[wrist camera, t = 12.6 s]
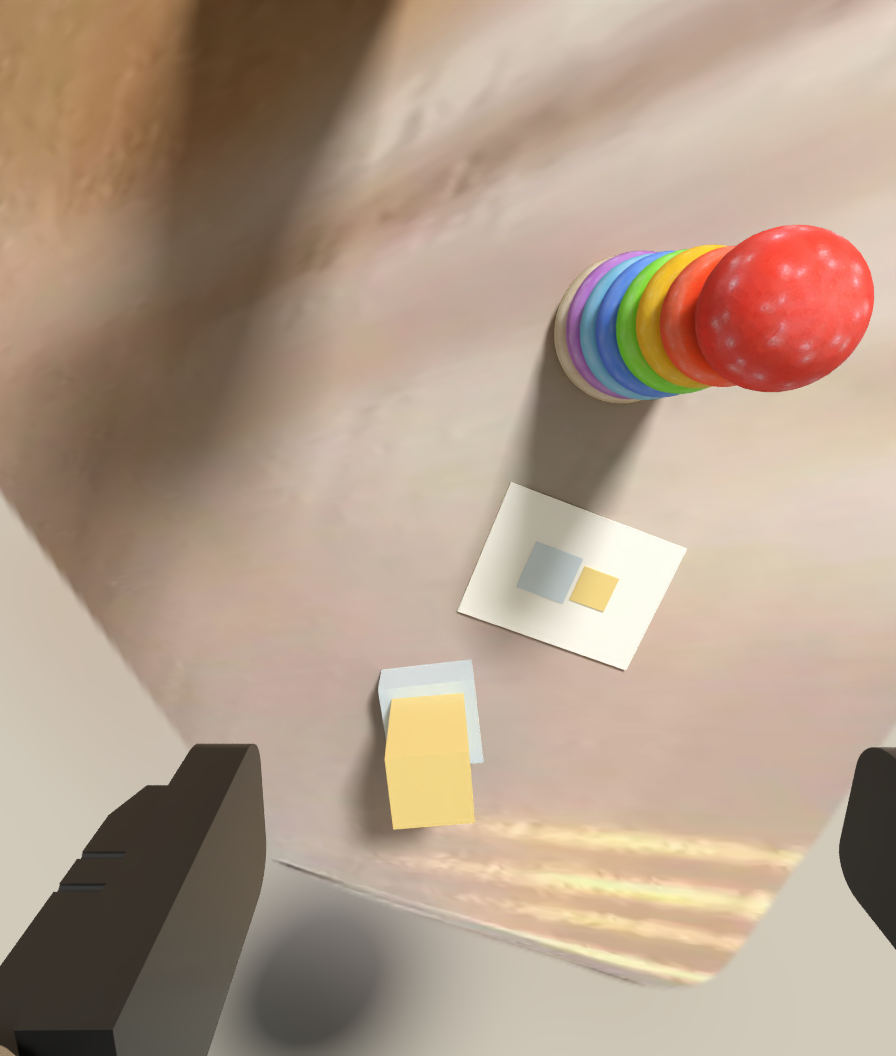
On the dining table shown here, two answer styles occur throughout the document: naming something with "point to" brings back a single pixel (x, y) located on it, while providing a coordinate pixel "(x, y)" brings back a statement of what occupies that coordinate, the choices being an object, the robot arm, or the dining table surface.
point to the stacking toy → (715, 316)
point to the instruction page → (570, 577)
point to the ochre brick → (429, 762)
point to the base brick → (434, 692)
